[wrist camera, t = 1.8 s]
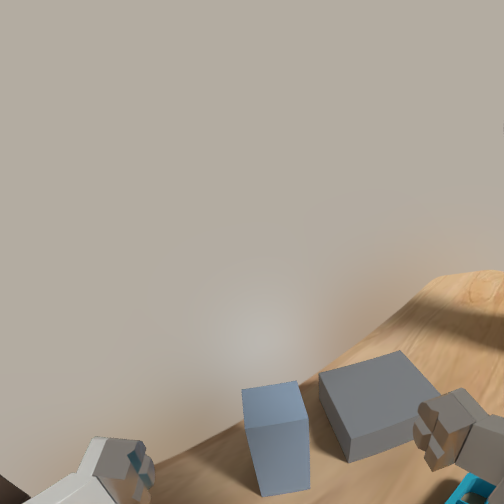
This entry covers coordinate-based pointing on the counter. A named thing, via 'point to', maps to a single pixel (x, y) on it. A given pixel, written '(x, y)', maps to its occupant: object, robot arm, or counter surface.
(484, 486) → the ice cube tray
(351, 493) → the counter surface
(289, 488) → the slate-blue block
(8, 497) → the coffee box
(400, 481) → the counter surface
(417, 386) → the charcoal block
